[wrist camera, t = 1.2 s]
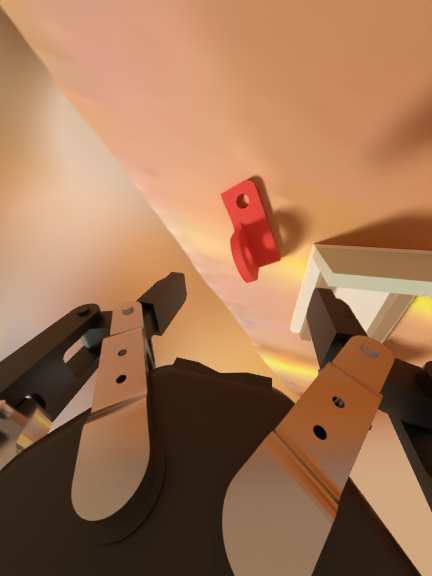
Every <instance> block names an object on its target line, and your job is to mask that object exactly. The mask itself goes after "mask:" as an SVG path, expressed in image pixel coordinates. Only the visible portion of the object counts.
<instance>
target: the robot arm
mask: <svg viewBox="0 0 432 576" xmlns="http://www.w3.org/2000/svg"><path fill="white" fill-rule="evenodd" d="M186 295H187V292H186V284H185V277H184V274H183V273H176V272H171V273H170V274H169V275H168V276H167V277H166V278H163V279H162V280H160V281H157V282H156V283H155V284H154V285H153V287H151V288H150V289H149V290H148V291H147V292H145V294H143V295H142V296H141V297H140V298H139V299H138V300H137V301H129V302H125V303H122V304H120V305H118V307H116V308H115V309H114V310H113V311H103V312H101V310H100V308H99V306H98V305H96V304H86V305H82V306H79V307H77V308H75V309H74V310H72V311H71V312H70V313H68V314H66V315H65V316H64V317H62V318H61V319H59V320H58V321H57V322H55V323H54V324H53V325H51V326H50V327H48V328H47V329H46V330H44V331H43V332H42V333H40V334H39V335H37V336H36V337H35V338H33V339H32V340H30V341H29V342H27V343H26V344H25V345H23V346H22V347H20V348H19V349H18V350H16V351H15V352H14V353H12V354H11V355H9V356H8V357H7V358H5V359H4V360H2V361H1V362H0V576H421V574H420V573H419V571H418V570H417V569H416V567H415V566H414V565H413V563H412V562H411V560H410V559H409V558H408V556H407V555H406V554H405V552H404V551H403V550H402V548H401V547H400V545H399V544H398V543H397V541H396V540H395V539H394V537H393V536H392V534H391V533H390V532H389V530H388V529H387V528H386V526H385V525H384V523H383V522H382V521H381V520H380V518H379V517H378V515H377V514H376V512H375V511H374V510H373V508H372V507H371V506H370V504H369V503H368V501H367V500H366V499H365V497H364V496H363V495H362V493H361V492H360V490H359V489H358V488H357V486H356V485H355V484H354V483H353V481H352V479H351V478H350V477H349V474H350V472H351V470H352V467H353V465H354V463H355V460H356V458H357V456H358V453H359V451H360V449H361V446H362V444H363V442H364V439H365V437H366V435H367V433H368V430H369V428H370V426H371V423H372V421H373V419H374V416H375V414H376V412H377V409H379V410H381V411H383V412H385V413H388V415H389V418H390V420H391V422H392V424H393V426H394V429H395V431H396V433H397V435H398V437H399V440H400V442H401V444H402V446H403V448H404V451H405V453H406V455H407V458H408V460H409V462H410V464H411V466H412V469H413V471H414V473H415V475H416V478H417V480H418V482H419V484H420V486H421V489H422V491H423V493H424V495H425V498H426V500H427V502H428V504H429V507H430V509H431V511H432V361H429V362H427V363H426V364H425V365H424V366H423V367H422V368H421V367H418V366H415V365H413V364H410V363H407V362H404V361H401V360H399V359H396V358H394V355H393V353H392V352H391V351H390V349H389V348H387V347H386V346H385V345H384V344H382V343H381V342H379V341H377V340H375V339H373V338H370V337H368V335H367V334H366V332H365V330H364V329H363V327H362V326H361V324H360V322H359V321H358V319H356V316H355V315H354V313H352V312H353V311H352V310H351V308H350V307H349V305H348V304H347V303H345V302H344V301H343V300H341V299H338V298H336V297H335V295H334V293H333V291H332V290H331V289H327V288H318V287H315V288H314V290H313V293H312V296H311V299H310V302H309V305H308V308H307V314H306V317H307V322H308V326H309V330H310V333H311V337H312V341H313V344H314V348H315V352H316V355H317V359H318V363H319V366H320V368H324V369H323V370H322V371H321V372H320V374H319V375H318V376H317V377H316V379H315V380H314V381H313V382H312V384H311V385H310V386H309V387H308V389H307V390H306V391H305V392H304V394H303V395H302V396H301V397H300V399H299V400H298V401H297V403H296V404H295V403H294V402H293V401H292V400H291V399H290V398H289V397H287V396H286V395H285V394H283V393H282V392H281V391H279V390H277V389H276V388H274V387H272V378H269V377H264V376H260V375H255V374H251V373H219V372H217V371H215V370H213V369H211V368H209V367H207V366H205V365H203V364H201V363H199V362H195V361H191V360H186V359H182V358H176V360H175V362H174V364H173V365H165V366H161V367H158V368H156V364H155V357H154V350H153V343H152V339H151V338H152V336H153V335H158V336H162V334H163V333H164V332H165V330H166V328H167V327H168V326H169V324H170V323H171V321H172V320H173V318H174V317H175V315H176V314H177V312H178V311H179V309H180V308H181V307H182V305H183V304H184V302H185V300H186ZM79 339H81V340H82V342H83V344H84V346H83V347H82V348H81V349H80V350H79V351H78V352H77V353H76V354H75V355H74V356H73V357H72V358H71V359H70V360H69V361H68V362H67V363H66V364H65V362H64V360H63V357H64V354H65V352H66V351H67V350H68V349H69V348H70V347H71V346H72V345H73V344H74V343H75V342H76V341H77V340H79ZM97 368H98V374H97V379H96V386H95V392H94V398H93V404H92V407H91V408H89V409H88V410H86V411H84V412H83V413H81V414H79V415H78V416H76V417H75V418H73V419H71V420H70V421H68V422H66V423H65V424H63V425H62V426H60V427H58V428H57V429H55V430H53V431H52V432H50V433H49V434H47V433H48V432H49V430H50V428H51V425H52V422H53V421H54V420H55V419H56V418H57V416H58V415H59V414H60V413H61V412H62V410H63V409H64V408H65V407H66V405H67V404H68V403H69V402H70V401H71V400H72V398H73V397H74V396H75V395H76V394H77V392H78V391H79V390H80V389H81V388H82V386H83V385H84V384H85V383H86V381H87V380H88V379H89V378H90V377H91V376H92V374H93V373H94V372H95V371H96V369H97Z"/></svg>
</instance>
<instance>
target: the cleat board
mask: <svg viewBox="0 0 432 576" xmlns="http://www.w3.org/2000/svg"><path fill="white" fill-rule="evenodd" d="M315 287H318V288H327V289H331V290H332V291H333V293H334V295H335V297H336V298H338V299H341V300H343V301H344V302H345V303H347V304H348V305H349V307H350V308H351V310H352V311H353V312H352V313H354V315H355V316H356V319H358V321H359V322H360V324H361V326H362V327H363V329H364V330H365V332H366V334H367V335H368V337H370V338H373V339H375V340H377V341H379V342H381V343H383V342H384V340H385V339H386V337H387V336H388V335H389V333H390V332H391V330H392V329H393V328H394V326H395V325H396V323H397V322H398V320H399V319H400V318H401V316H402V315H403V313H404V312H405V311H406V309H407V308H408V306H409V305H410V303H411V302H412V301H413V299H414V298H415V296H416V295H417V296H426V297H432V251H429V250H412V249H394V248H377V247H360V246H343V245H326V244H313V247H312V250H311V254H310V257H309V261H308V264H307V268H306V271H305V275H304V279H303V282H302V286H301V289H300V293H299V296H298V300H297V304H296V307H295V311H294V314H293V318H292V321H291V325H290V329H291V332H295V333H300V337H301V340H307V341H310V340H311V338H312V337H311V333H310V330H309V326H308V322H307V317H306V314H307V308H308V305H309V302H310V299H311V296H312V293H313V290H314V288H315Z"/></svg>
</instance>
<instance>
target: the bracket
mask: <svg viewBox="0 0 432 576" xmlns="http://www.w3.org/2000/svg"><path fill="white" fill-rule="evenodd" d="M241 194H246V195H247V196H248V197H249V205H248V206H247V207H245V208H242V207H240V206H239V205H238V203H237V199H238V197H239V195H241ZM220 195H221V197H222V199H223V202H224V204H225V206H226V209H227V211H228V214H229V216H230V218H231V221H232V223H233V226H234V230H235V232H234V234H233V235H232V237H231V241H230V243H231V251H232V255H233V258H234V262H235V264H236V267H237V269H238V271H239V273H240V275H241V277H242V278H243V280H244V281H245V282H247V283H249V282H252V281H256V280H257V279H258V271H259V267H262V266H265V265H268V264H271V263H274V262H277V261H280V260H281V259H280V255H279V252H278V249H277V246H276V244H275V241H274V238H273V235H272V232H271V229H270V226H269V223H268V220H267V217H266V214H265V211H264V208H263V205H262V203H261V200H260V197H259V194H258V191H257V188H256V185H255V183H254V182H253V181H251V180H246V181H243V182H242V183H240V184H238V185H236V186H235V187H233V188H231V189H229V190H227V191H226V192H224V193H222V194H220Z"/></svg>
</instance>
